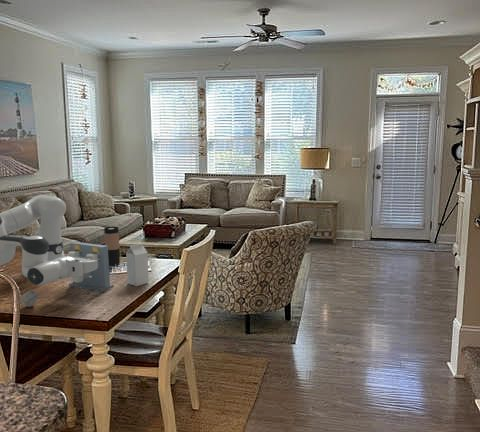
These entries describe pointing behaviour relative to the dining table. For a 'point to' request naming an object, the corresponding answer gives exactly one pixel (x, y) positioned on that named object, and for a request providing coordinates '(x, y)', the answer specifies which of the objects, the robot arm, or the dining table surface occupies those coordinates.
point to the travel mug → (112, 244)
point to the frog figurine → (29, 298)
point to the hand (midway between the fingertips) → (89, 259)
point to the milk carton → (137, 265)
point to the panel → (101, 274)
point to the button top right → (93, 256)
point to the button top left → (75, 254)
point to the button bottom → (79, 279)
